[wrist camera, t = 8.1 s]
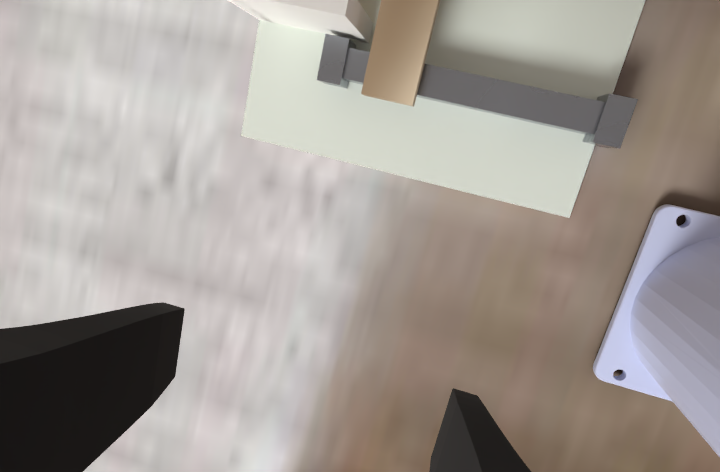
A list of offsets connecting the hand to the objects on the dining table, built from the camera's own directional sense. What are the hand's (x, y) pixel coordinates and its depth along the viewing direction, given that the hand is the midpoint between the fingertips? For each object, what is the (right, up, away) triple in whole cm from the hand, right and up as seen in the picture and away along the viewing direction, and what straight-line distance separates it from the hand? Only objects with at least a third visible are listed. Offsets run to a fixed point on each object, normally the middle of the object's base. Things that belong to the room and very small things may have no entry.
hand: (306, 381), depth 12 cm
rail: (+6, +10, +8) cm, 14 cm away
